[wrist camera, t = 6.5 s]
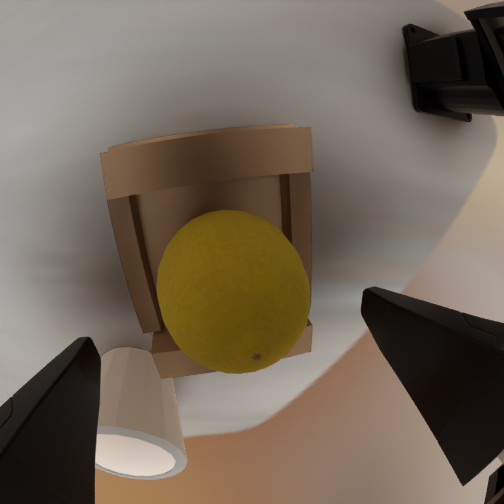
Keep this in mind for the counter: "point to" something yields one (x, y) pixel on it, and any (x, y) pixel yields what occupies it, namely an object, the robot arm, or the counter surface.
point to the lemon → (233, 291)
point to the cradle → (203, 207)
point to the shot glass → (137, 418)
